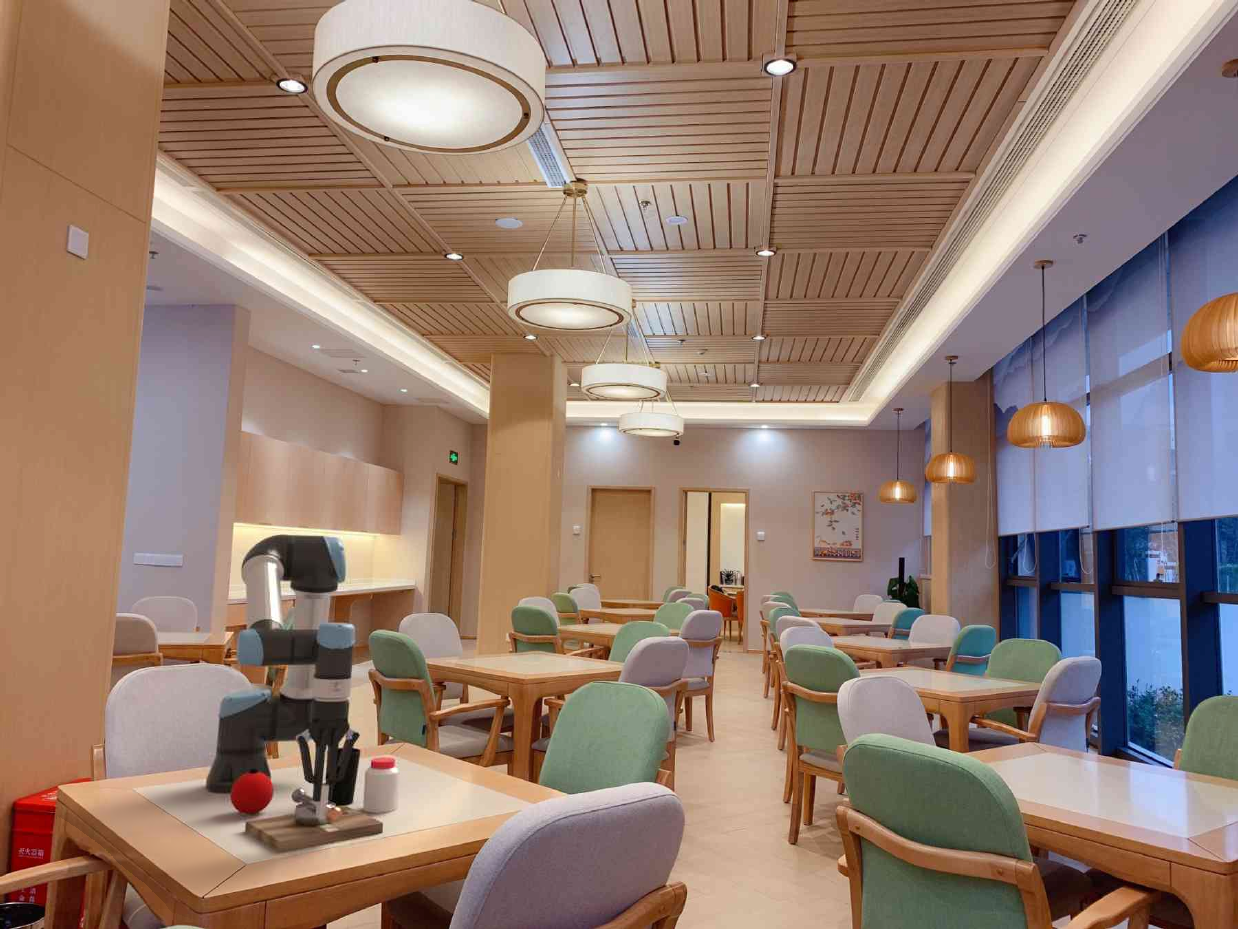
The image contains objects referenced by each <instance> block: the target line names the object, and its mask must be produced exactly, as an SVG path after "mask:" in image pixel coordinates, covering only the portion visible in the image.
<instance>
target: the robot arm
mask: <svg viewBox="0 0 1238 929" xmlns="http://www.w3.org/2000/svg"><path fill="white" fill-rule="evenodd" d="M345 554H346V553H345V548H344V544H343V541H342V540H341V539H340V538H339V537H335V536H334V537H333V536H326V535H307V534H306V535H303V534H295V535H294V534H281V533H280V534H275V535H271V536H269V537H266V538H264V539H262V540H261V541H259V542H257V543H256V544H255V545H253V546H252V547H251V549H249V550H248V552H246V554H245V556H244V558H243V561H242V563H241V569H240V572H241V573H240V574H241V579H242V581H243V583H244V584H245V592H246V594H245V598H246V599H245V600H246V601H245V604H246V606H245V607H246V629H242V630H240V631H239V632H238V635H237V644H236V662H237V664H238V665H240V666H252V667H253V666H254V667H264V666H265V667H266V666H267V667H270V666H271V667H272V666H288V669H287V676H286V677H287V678H286V682H285V683H284V684H282V685H281V686H280V688H279V694H275V695H274V694H273V695H271V691H270V690H269V689H266V688H265V689H263V688H262V689H253V690H251V689H250V690H243V691H238V692H235V693H231V694H228V695H225V696H224V697H223V698H222V699H221V701H220V705H219V706H220V707H219V713H218V715H217V717H218V731H217V740H216V751H215V757H214V760H213V762H212V763H211V764H212V765H211V767H210V770H209V772H208V774H207V776H206V779H205V781H206V782H205V790H207V791H209V792H212V793H219V794H220V793H221V794H231V789H232V787H233V785H234V783H235V782H236V781H237V780H238V778H240V777H241V776H242V775H244V774H246V773H250V768H253V767H257V768H258V772H260V773H263V774H265V775H266V776H268V777H269V779H270V780H271V781H272V773H271V770H270V766H269V763H268V758H267V752H266V751H267V743H276V742H277V743H278V742H296V743H297V744H298V745H299V746H298V747H299V752H300V758H301V765H302V772H303V777H304V780H305V782H307V783H308V784H312V785H313V789H312V798H313V801H315V802H317V806H316V817H317V818H318V819H326V814H327V803H328V800H332V797H333V786H334V785H335V783H336V782H337V781H339V780H340V781H341V780H343V778H344V775H345V772H346V768H347V765H348V762H349V759H350V756H351V752H352V749H353V748H354V746H355V744H356V742H357V741H358V739H359V738H360V736H361V735H360V732H358V731H356V730H353V729H352V728H350V727H351V726H350V723H349V713H350V712H349V711H350V700H349V699H348V698H349V697H350V696H351V684H352V673H353V672H352V671H353V662H354V660H353V659H354V650H355V643H356V627H355V625H353V624H352V623H347V622H329V615H330V608H331V606H330V603H331V596H332V595H333V594H334V593H336V592H337V590H338V587H339V584H342V583H344V582H345V581H346V574H347V569H346V565H347V564H346V555H345ZM281 582H290V583H289V584H290V585H289V587H290V589H291V591H292V592H293V593H294V594H295V598H294V609H293V618H292V620H293V621H292V628H291V629H284V626H285V624H284V614H283V613H284V612H283V603H282V587H281ZM343 738H345V741H344V743H343V746H342V748H343V749H342V752H341V755H340V758H339V761H338V764H337V768H336V761H337V751H338V748H340V747H339V746H340V742H341V741H342V740H343ZM311 740H312V741H313V742H314V744H315V746H314V747H315V753H314V754H315V756H314V765H313V764H312V758H311V753H310V752H311V751H310V746H309V744H308V743H309V742H310V741H311ZM327 751H328V754H327V753H326V752H327ZM326 754H327V756H326ZM325 757H326V768H325ZM313 767H314V768H313ZM324 770H325V776H324ZM324 777H325V778H324ZM324 781H325V782H324Z"/></svg>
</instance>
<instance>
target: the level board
mask: <svg viewBox="0 0 1238 929" xmlns="http://www.w3.org/2000/svg"><path fill="white" fill-rule="evenodd" d="M336 807H338V808H340V809H341V811H342V816H341V818H340V820H339V821H337V822H334V823H332V822H331V823H329V824H324V825H317V826H304V825H298V824H296V823H295V812H294V813H288V814H283V815H277V816H270V817H264V818H258V819H252V820H247V821H245V825H244V827H245V830H244V832H246V833H248V834H249V835H250V836H252V837H254V838H255V839H257V840H259V841H260V842H262V843H264V844H265V845H267V846H268V847H270V848H272V849H273V850H275V851H276V852H278V853H283V852H287V851H291V850H297V849H298V850H299V849H303V848H308V847H314V846H320V845H323V844H330V843H335V842H340V841H345V840H351V839H355V838H361V837H367V836H371V835H372V836H373V835H377V834H382V833H383V831H384V822H382V821H380V820H378V819H377V818H374V817H371V816H370V815H366V814H364V813H362V812H360V811H358V810H356V809H353V808H351V807H349V806H348V805H343V806H336Z"/></svg>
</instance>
